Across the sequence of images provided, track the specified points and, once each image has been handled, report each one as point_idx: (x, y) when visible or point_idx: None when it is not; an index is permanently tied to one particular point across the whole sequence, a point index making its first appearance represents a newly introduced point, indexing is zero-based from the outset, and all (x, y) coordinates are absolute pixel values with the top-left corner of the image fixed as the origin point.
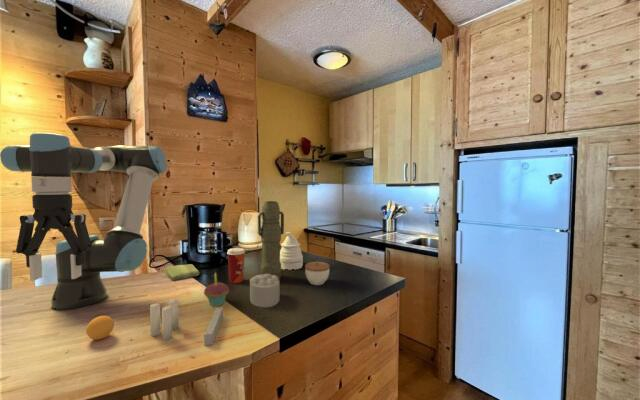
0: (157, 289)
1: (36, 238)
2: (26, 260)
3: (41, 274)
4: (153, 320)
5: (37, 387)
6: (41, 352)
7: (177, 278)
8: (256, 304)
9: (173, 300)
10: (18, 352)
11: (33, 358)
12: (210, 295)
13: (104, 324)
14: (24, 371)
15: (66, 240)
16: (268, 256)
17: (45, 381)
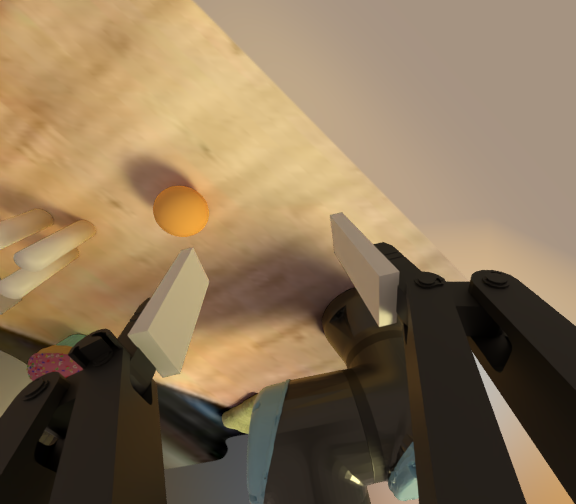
0: (254, 365)
1: (436, 430)
2: (407, 260)
3: (337, 255)
4: (51, 234)
5: (123, 6)
6: (258, 145)
7: (249, 399)
8: None
9: (10, 291)
10: (305, 142)
11: (252, 122)
12: (53, 349)
13: (155, 206)
14: (221, 72)
15: (111, 464)
16: None
17: (131, 32)
